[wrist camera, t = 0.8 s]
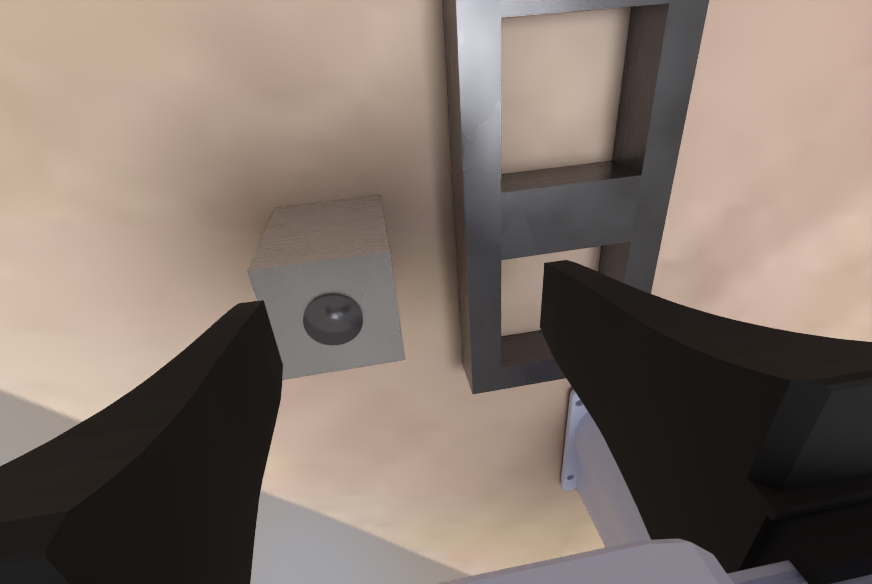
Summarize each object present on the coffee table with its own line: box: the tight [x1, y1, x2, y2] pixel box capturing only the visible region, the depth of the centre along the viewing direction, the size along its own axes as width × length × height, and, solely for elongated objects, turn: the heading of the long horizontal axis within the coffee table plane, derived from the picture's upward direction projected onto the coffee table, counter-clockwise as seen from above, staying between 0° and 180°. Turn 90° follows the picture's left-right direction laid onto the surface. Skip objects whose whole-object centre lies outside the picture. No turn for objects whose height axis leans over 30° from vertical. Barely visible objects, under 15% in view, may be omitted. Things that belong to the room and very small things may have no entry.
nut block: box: [248, 195, 405, 380], centre depth 18 cm, size 4×4×6 cm
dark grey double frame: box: [443, 0, 709, 394], centre depth 20 cm, size 18×9×2 cm, turn 4°
